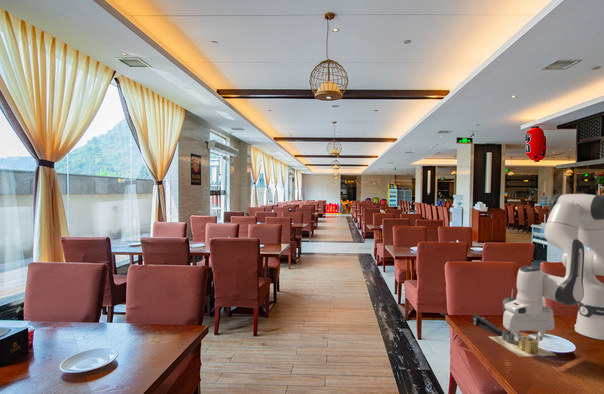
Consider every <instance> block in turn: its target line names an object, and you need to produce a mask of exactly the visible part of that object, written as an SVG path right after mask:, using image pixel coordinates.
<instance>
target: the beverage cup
mask: <svg viewBox="0 0 604 394" xmlns="http://www.w3.org/2000/svg"><path fill="white" fill-rule="evenodd" d="M513 296H514V288H512V289H511V296H508V297H505V298H504V299H503V300H502V304H501V305H502V310H503V313H504V312H505V310H507V309H505V307H504V306H505V304H506V303H509V302H511V301H514V300H516V297H515V298H514V297H513Z"/></svg>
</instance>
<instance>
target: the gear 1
mask: <svg viewBox="0 0 604 394" xmlns="http://www.w3.org/2000/svg"><path fill="white" fill-rule="evenodd" d="M518 335H519V336H520V337H521V336H525V334H522V333H520V332H519V333H518ZM501 336H502V340H504V341H506V342H507V343H511V344H515V345H519V341H516V340H515V336H514V335H511V331H509V330H507V329H505V330H502V334H501Z"/></svg>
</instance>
